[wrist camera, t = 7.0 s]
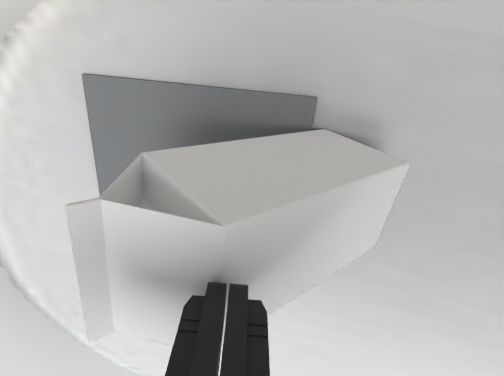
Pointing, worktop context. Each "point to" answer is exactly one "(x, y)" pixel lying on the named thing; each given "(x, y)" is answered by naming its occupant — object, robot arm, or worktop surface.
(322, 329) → the worktop surface
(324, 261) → the milk carton
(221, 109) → the mat
